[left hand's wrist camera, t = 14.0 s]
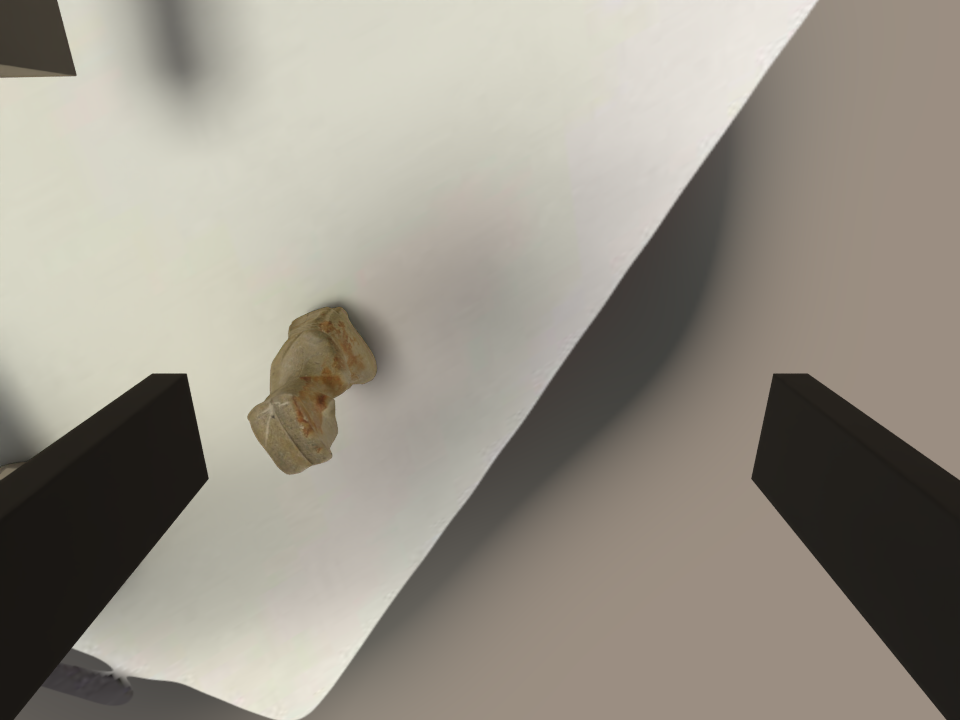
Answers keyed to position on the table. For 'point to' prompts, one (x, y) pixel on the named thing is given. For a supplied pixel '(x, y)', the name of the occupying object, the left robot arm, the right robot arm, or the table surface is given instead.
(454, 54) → the table surface
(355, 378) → the sculpture
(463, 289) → the table surface
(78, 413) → the table surface
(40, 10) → the bar
